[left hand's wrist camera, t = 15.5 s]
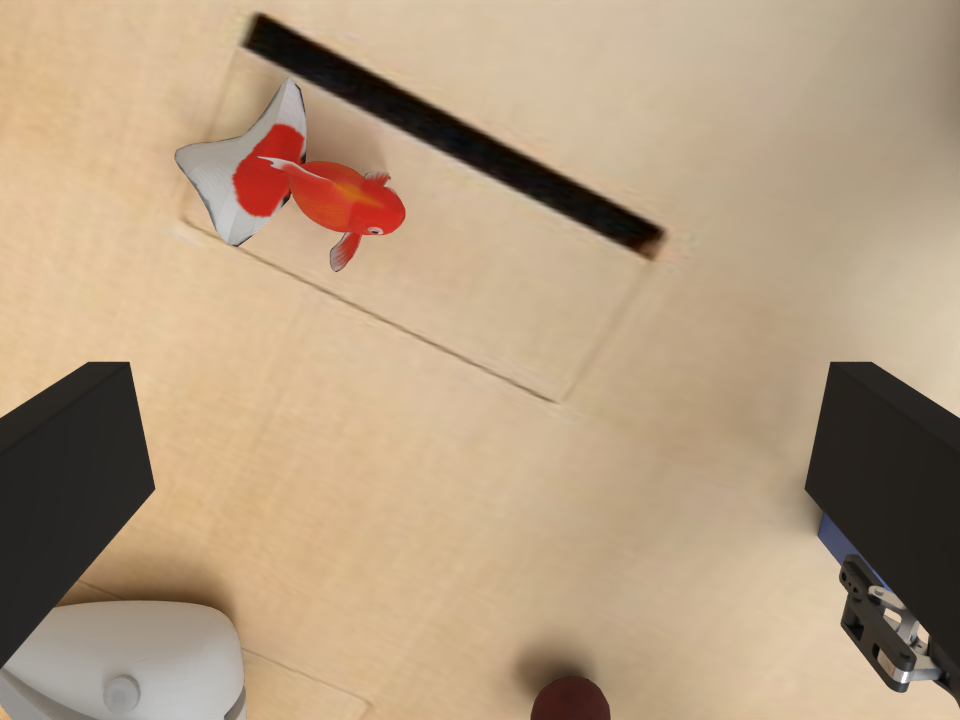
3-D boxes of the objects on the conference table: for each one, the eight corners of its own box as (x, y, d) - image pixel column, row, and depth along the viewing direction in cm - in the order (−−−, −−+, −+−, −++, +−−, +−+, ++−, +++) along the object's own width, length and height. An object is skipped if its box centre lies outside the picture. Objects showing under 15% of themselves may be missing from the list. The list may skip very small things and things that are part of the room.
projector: (117, 505, 56) (0, 632, 42) (319, 654, 62) (273, 808, 48) (-20, 645, 61) (-163, 797, 48) (177, 769, 67) (100, 937, 54)
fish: (350, 337, 46) (287, 299, 36) (200, 217, 49) (105, 153, 40) (445, 217, 46) (407, 147, 36) (288, 106, 50) (216, 17, 40)
